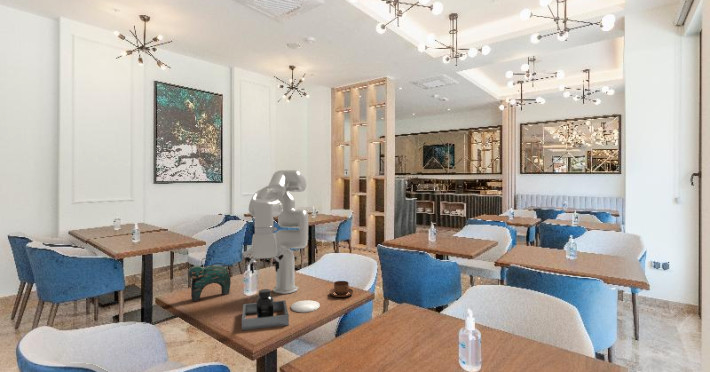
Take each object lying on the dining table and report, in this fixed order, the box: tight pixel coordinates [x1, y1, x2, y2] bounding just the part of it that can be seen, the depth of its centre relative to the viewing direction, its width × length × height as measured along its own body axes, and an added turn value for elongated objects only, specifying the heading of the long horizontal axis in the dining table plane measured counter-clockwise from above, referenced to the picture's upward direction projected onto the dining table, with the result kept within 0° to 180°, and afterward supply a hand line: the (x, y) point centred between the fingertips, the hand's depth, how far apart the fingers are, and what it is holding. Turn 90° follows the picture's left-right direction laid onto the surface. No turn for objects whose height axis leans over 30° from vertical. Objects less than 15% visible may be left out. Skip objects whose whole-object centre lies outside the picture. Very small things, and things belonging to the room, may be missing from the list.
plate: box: [290, 299, 321, 314], centre depth 164 cm, size 13×13×1 cm
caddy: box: [241, 299, 290, 331], centre depth 151 cm, size 18×18×4 cm
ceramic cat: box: [187, 257, 231, 302], centre depth 179 cm, size 20×6×20 cm, turn 129°
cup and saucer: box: [329, 280, 354, 298], centre depth 181 cm, size 12×12×6 cm
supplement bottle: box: [256, 288, 275, 318], centre depth 151 cm, size 7×7×12 cm
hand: (264, 271), depth 150 cm, fingers open, 9 cm apart
